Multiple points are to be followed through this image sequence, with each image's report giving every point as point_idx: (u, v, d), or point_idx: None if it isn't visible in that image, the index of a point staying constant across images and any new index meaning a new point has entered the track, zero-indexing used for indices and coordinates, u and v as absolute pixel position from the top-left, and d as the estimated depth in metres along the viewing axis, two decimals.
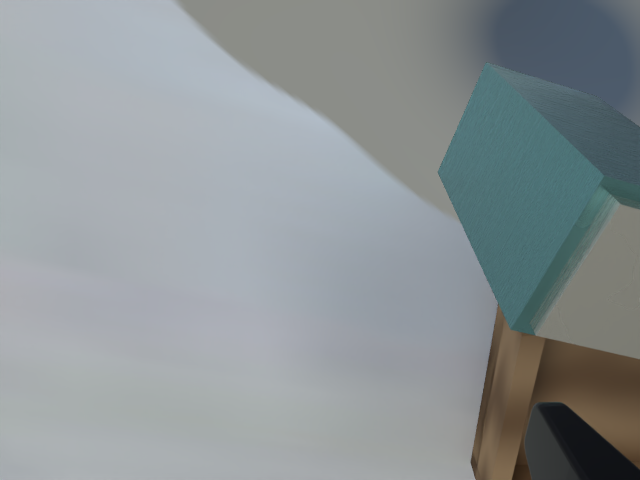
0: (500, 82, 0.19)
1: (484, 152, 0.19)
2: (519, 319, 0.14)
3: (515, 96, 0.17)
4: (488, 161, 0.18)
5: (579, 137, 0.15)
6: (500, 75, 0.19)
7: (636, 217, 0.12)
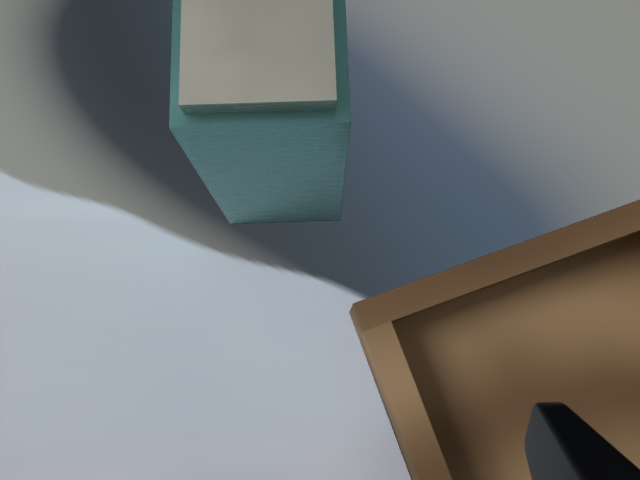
0: None
1: None
2: (171, 113, 0.14)
3: None
4: None
5: None
6: None
7: None
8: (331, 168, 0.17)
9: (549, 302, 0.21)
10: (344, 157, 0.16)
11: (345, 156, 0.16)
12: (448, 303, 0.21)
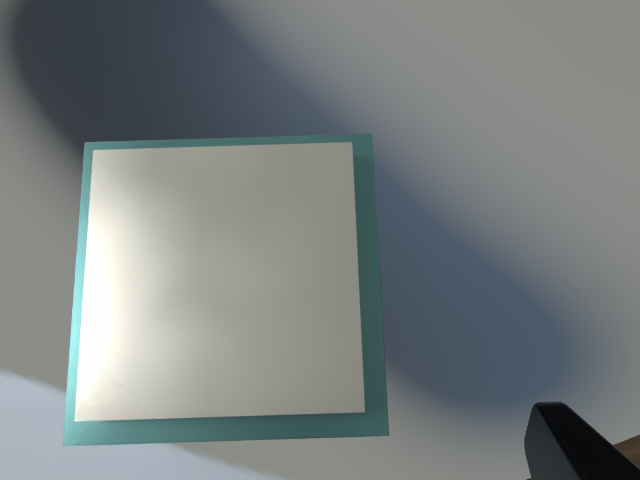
0: None
1: None
2: (69, 417, 0.08)
3: None
4: None
5: None
6: None
7: (127, 160, 0.08)
8: None
9: None
10: None
11: None
12: None
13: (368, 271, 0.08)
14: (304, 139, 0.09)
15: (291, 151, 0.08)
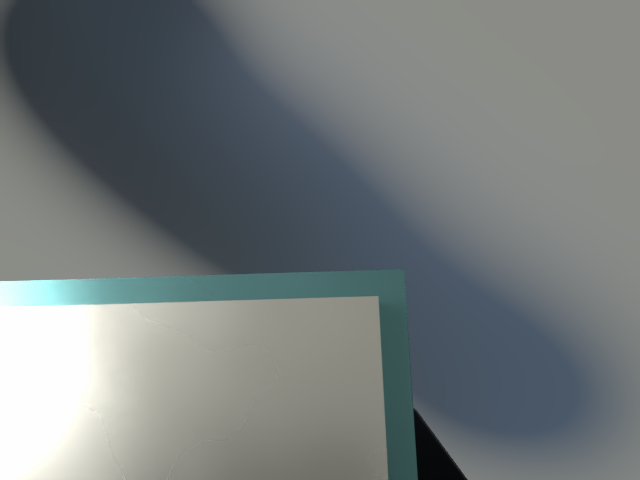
0: None
1: None
2: None
3: None
4: None
5: None
6: None
7: (46, 324, 0.06)
8: None
9: None
10: None
11: None
12: None
13: None
14: (308, 273, 0.06)
15: (289, 310, 0.06)
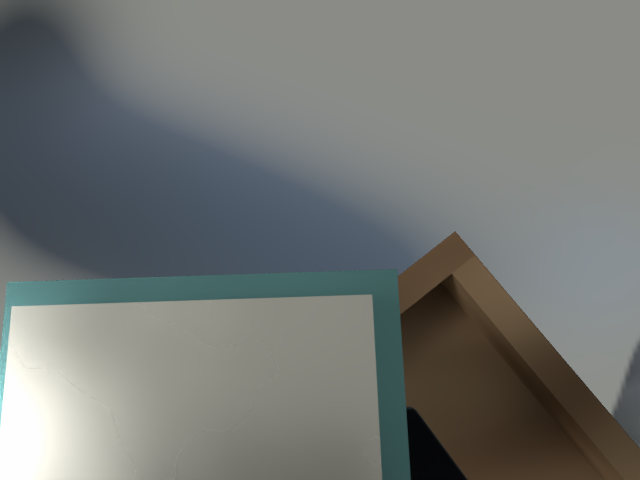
0: None
1: None
2: None
3: None
4: None
5: None
6: None
7: (58, 322, 0.06)
8: None
9: None
10: None
11: None
12: None
13: (394, 472, 0.06)
14: (305, 274, 0.07)
15: (288, 308, 0.06)
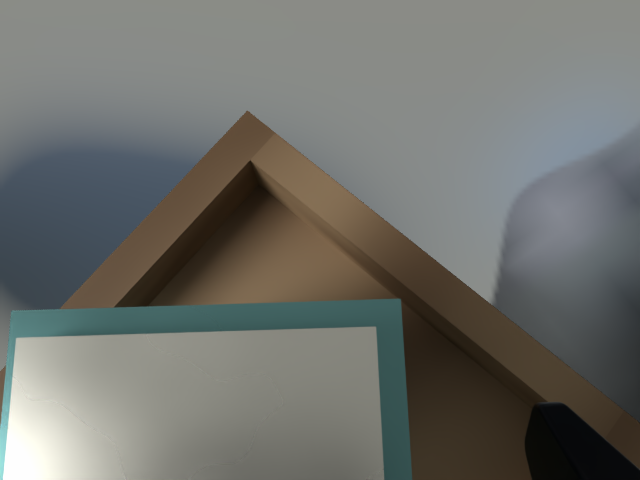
0: None
1: None
2: None
3: None
4: None
5: None
6: None
7: (63, 354, 0.06)
8: None
9: None
10: None
11: None
12: None
13: None
14: (309, 302, 0.07)
15: (292, 340, 0.06)
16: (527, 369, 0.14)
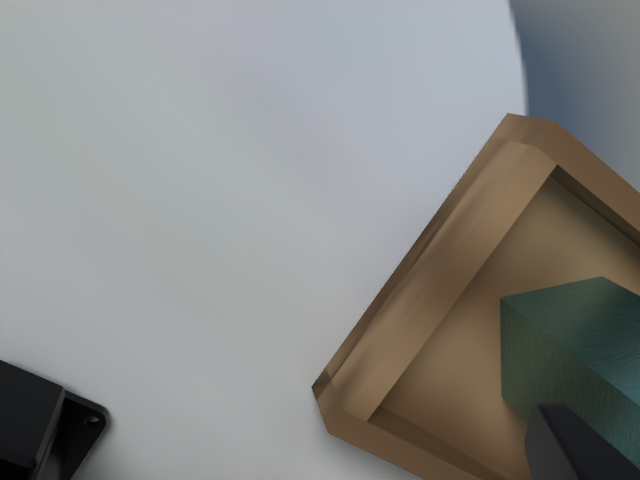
0: (635, 296, 0.21)
1: (609, 321, 0.20)
2: None
3: None
4: (618, 329, 0.19)
5: None
6: (631, 292, 0.21)
7: None
8: None
9: (608, 265, 0.23)
10: None
11: None
12: (569, 192, 0.21)
13: None
14: None
15: None
16: None
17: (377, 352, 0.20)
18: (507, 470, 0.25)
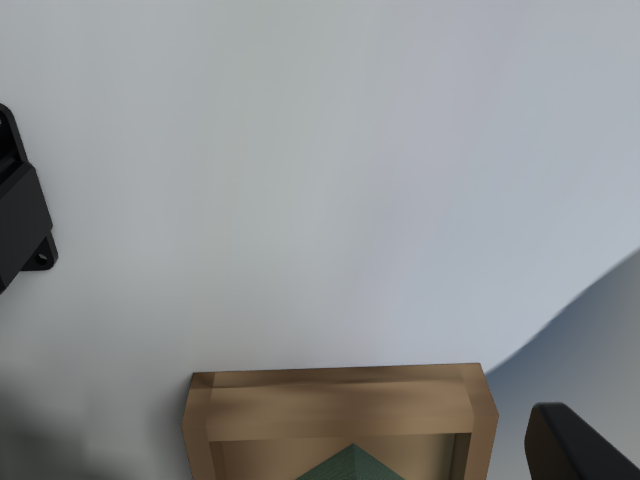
0: None
1: None
2: None
3: None
4: None
5: None
6: None
7: None
8: None
9: None
10: None
11: None
12: (454, 434, 0.27)
13: None
14: None
15: None
16: None
17: (262, 413, 0.24)
18: None
